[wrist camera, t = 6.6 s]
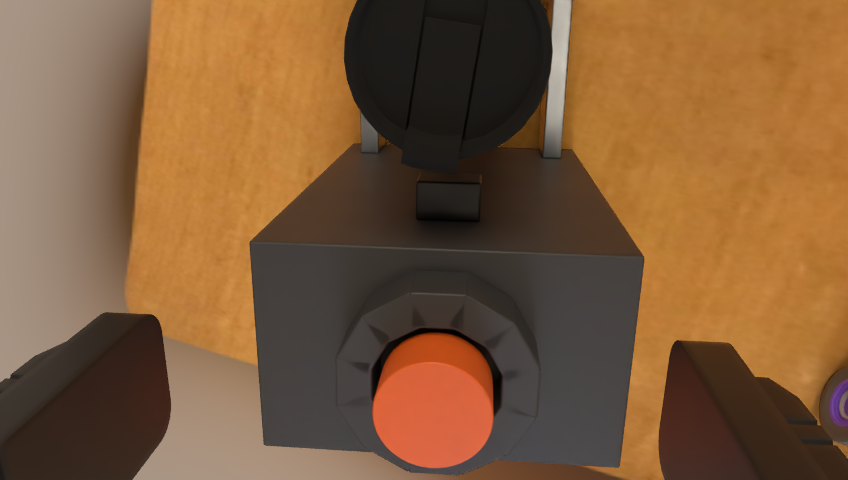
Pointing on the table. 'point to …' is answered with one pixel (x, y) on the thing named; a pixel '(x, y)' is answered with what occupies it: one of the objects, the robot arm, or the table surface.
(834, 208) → the table surface
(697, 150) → the table surface
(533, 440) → the coffee maker
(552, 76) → the frame
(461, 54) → the travel mug
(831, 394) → the toy race car
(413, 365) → the button
